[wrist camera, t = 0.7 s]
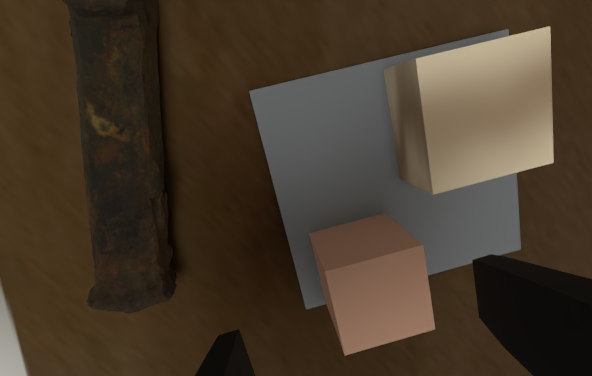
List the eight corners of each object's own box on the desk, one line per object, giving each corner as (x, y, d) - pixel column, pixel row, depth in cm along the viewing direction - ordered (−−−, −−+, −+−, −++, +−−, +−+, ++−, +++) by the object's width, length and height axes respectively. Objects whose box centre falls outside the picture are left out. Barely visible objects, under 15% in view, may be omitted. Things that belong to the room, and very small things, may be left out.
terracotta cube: (395, 280, 20) (435, 329, 15) (325, 300, 19) (344, 355, 15) (384, 213, 18) (423, 244, 14) (309, 233, 18) (325, 271, 14)
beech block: (499, 153, 18) (553, 162, 15) (400, 179, 18) (433, 194, 15) (491, 43, 17) (550, 26, 13) (383, 69, 17) (415, 58, 13)
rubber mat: (514, 245, 21) (520, 249, 20) (304, 304, 20) (306, 309, 19) (501, 31, 17) (508, 28, 17) (249, 91, 16) (248, 90, 16)
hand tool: (184, 276, 19) (162, 328, 14) (111, 275, 18) (64, 328, 14) (191, -99, 15) (164, -192, 10) (97, -117, 14) (24, -223, 10)
